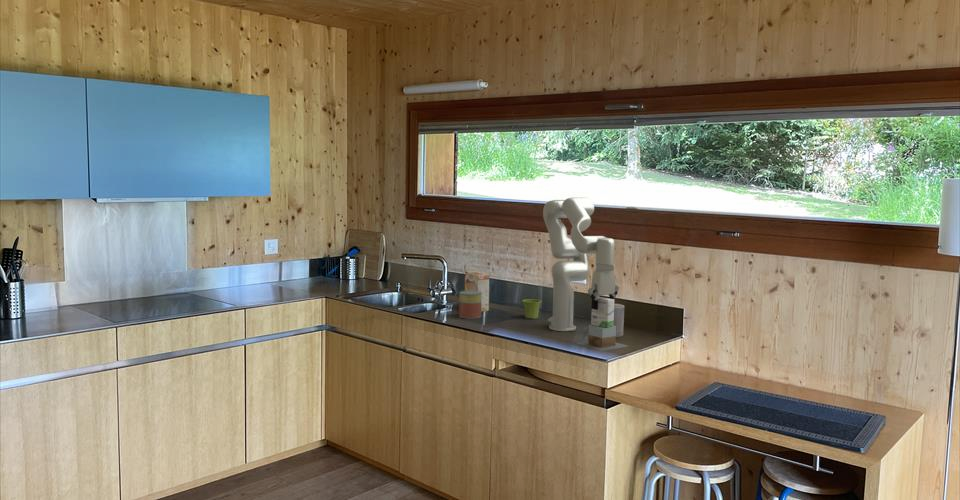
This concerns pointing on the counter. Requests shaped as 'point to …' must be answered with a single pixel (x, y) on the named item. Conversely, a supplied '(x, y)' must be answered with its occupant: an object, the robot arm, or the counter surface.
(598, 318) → the ink box
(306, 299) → the counter surface
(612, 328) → the top slab
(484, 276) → the coffeecake box
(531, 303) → the plant pot
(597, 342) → the bottom slab
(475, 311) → the canned food
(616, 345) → the mat
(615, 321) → the pillar candle
